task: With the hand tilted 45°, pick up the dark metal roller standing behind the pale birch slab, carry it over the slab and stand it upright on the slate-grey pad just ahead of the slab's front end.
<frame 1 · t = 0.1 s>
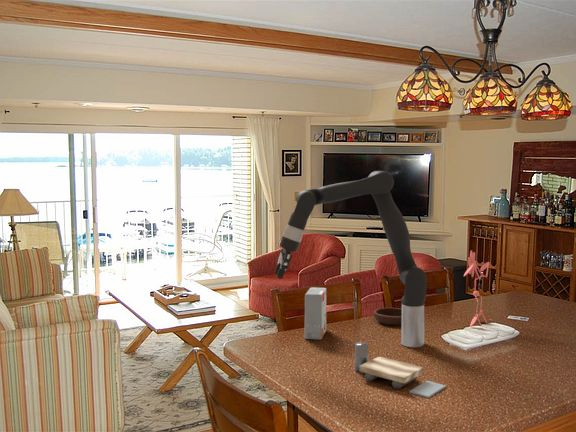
hand: (278, 276, 234), 31 cm above the table, tool tilted 20°, fingers open, 8 cm apart
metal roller: (361, 370, 216), on the table
hard drive box: (315, 335, 261), on the table
figurine: (470, 324, 276), on the table
dish: (392, 322, 281), on the table
birch slab: (391, 380, 206), on the table
slate-grey pad: (427, 389, 197), on the table
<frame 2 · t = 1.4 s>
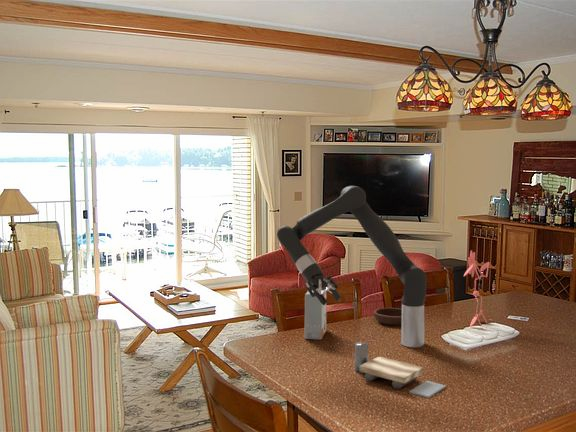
hand: (332, 301, 222), 24 cm above the table, tool tilted 45°, fingers open, 8 cm apart
nothing on the table moved.
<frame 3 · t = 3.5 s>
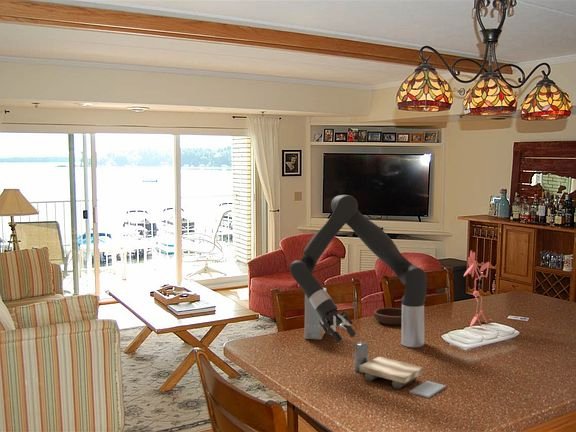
hand: (347, 338, 219), 11 cm above the table, tool tilted 45°, fingers open, 8 cm apart
nothing on the table moved.
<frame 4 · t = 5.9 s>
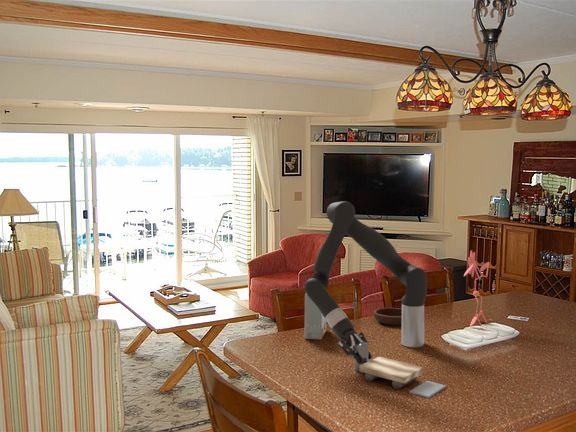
hand: (365, 360, 214), 4 cm above the table, tool tilted 45°, fingers closed on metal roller, 5 cm apart
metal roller: (361, 370, 216), on the table, touching gripper
everything else where it was.
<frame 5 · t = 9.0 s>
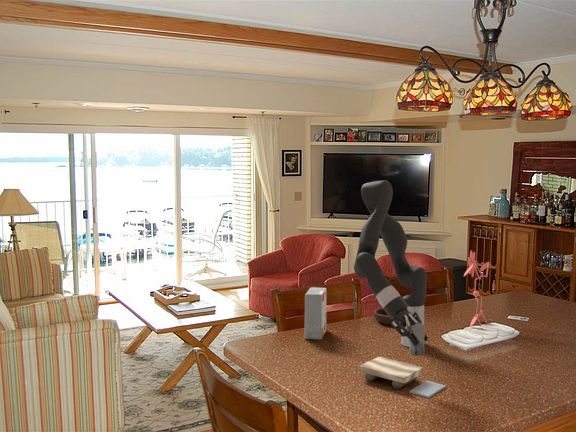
hand: (421, 342, 196), 16 cm above the table, tool tilted 45°, fingers closed on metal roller, 5 cm apart
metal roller: (416, 353, 198), point 12 cm above the table, touching gripper
everything else where it was.
when the fingers open (6 cm above the table, at t = 12.3 s): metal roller stays where it is, resting on slate-grey pad.
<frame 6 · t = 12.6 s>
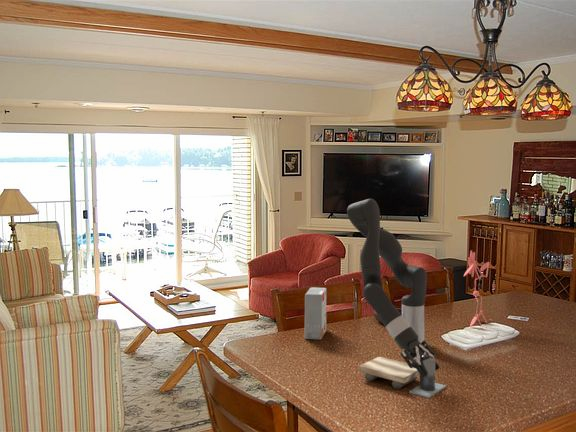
hand: (431, 372, 195), 6 cm above the table, tool tilted 45°, fingers open, 8 cm apart
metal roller: (427, 388, 197), point 1 cm above the table, touching slate-grey pad
everything else where it was.
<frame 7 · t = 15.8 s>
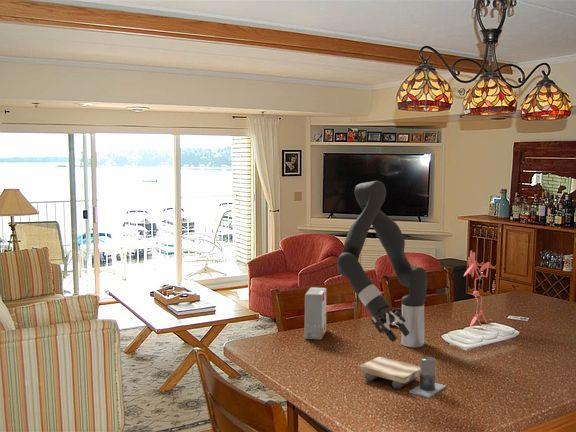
hand: (401, 337, 202), 16 cm above the table, tool tilted 45°, fingers open, 8 cm apart
nothing on the table moved.
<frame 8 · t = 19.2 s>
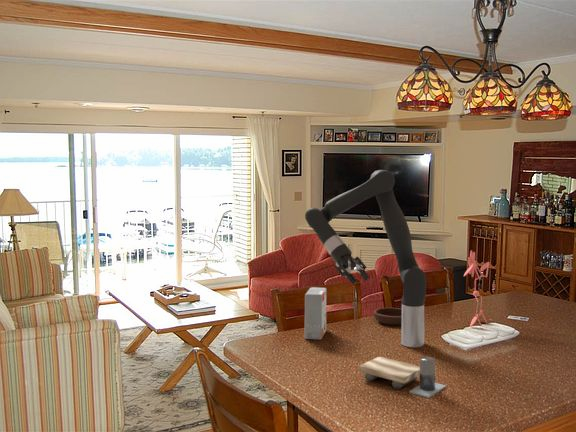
hand: (361, 281, 226), 31 cm above the table, tool tilted 45°, fingers open, 8 cm apart
nothing on the table moved.
at the end: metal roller inside the target area on the slate-grey pad (0.2 cm from its centre), point 0.6 cm above the slate-grey pad's base; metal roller tilted 1°; the gripper is holding nothing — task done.
